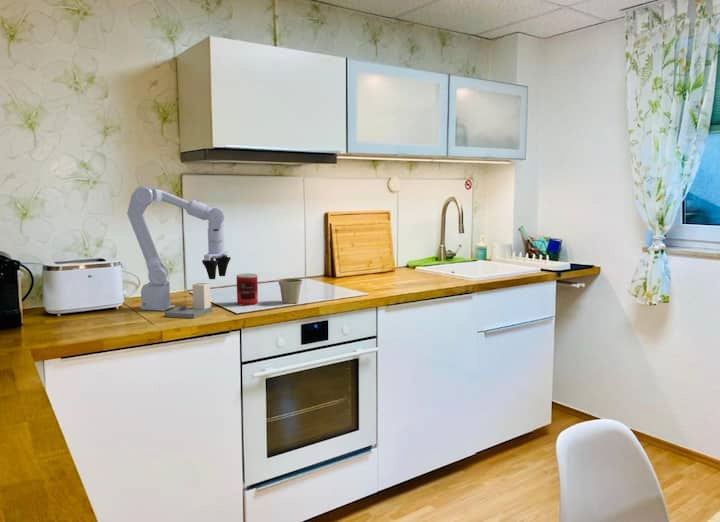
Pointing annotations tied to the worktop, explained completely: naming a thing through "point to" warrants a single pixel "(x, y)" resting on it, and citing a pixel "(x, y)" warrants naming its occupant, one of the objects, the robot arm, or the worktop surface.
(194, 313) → the tray
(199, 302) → the cream block
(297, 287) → the flower pot
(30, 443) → the worktop surface
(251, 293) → the canned food
